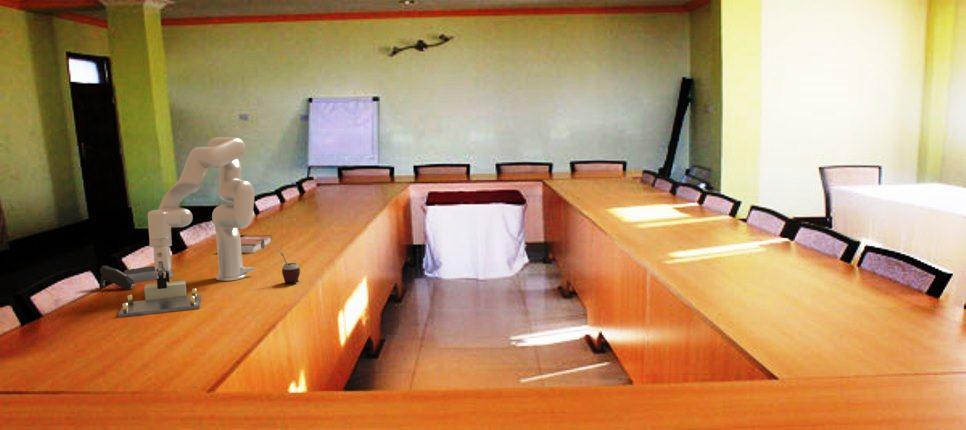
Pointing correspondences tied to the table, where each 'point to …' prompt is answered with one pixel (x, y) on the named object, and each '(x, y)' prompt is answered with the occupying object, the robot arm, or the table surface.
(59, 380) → the table surface
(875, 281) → the table surface
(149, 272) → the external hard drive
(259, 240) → the book
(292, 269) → the mate gourd
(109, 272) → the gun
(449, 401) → the table surface
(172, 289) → the pale grey rectangular block
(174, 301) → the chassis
